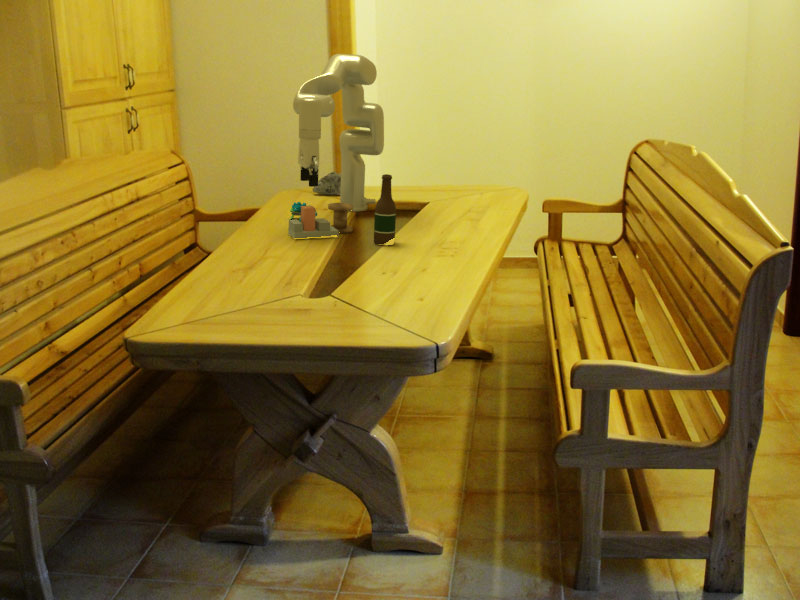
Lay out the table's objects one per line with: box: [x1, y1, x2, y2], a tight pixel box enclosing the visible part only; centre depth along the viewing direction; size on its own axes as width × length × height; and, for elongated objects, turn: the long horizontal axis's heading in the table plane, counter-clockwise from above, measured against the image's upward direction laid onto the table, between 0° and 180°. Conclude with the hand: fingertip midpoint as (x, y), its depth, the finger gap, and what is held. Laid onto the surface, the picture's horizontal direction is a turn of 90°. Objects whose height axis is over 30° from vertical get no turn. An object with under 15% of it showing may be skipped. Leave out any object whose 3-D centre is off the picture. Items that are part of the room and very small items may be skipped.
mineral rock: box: [312, 171, 341, 196], centre depth 416 cm, size 13×11×10 cm
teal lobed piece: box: [289, 201, 318, 221], centre depth 367 cm, size 11×6×10 cm
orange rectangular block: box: [301, 205, 316, 231], centre depth 343 cm, size 4×4×8 cm
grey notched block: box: [287, 217, 340, 239], centre depth 344 cm, size 16×8×6 cm, turn 112°
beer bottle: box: [373, 174, 397, 245], centre depth 336 cm, size 8×8×24 cm
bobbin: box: [327, 202, 353, 235], centre depth 354 cm, size 9×9×9 cm
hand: (309, 183), depth 339 cm, fingers open, 9 cm apart
